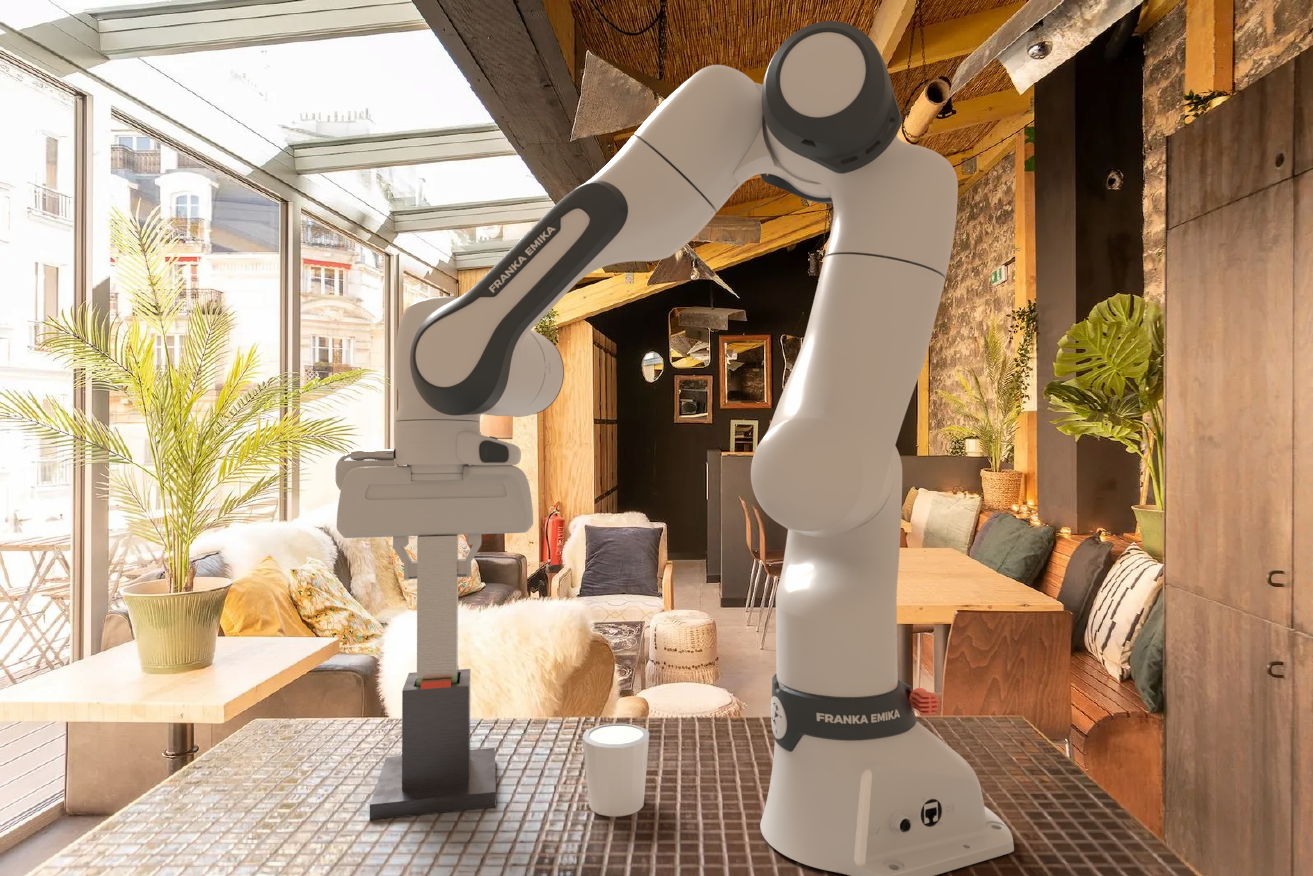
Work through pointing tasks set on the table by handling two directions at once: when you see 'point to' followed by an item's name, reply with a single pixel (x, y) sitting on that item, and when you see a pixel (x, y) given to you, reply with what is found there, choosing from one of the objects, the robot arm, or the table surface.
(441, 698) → the sleeve stand
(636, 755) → the white tapered cup
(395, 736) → the table surface
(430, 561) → the steel post
